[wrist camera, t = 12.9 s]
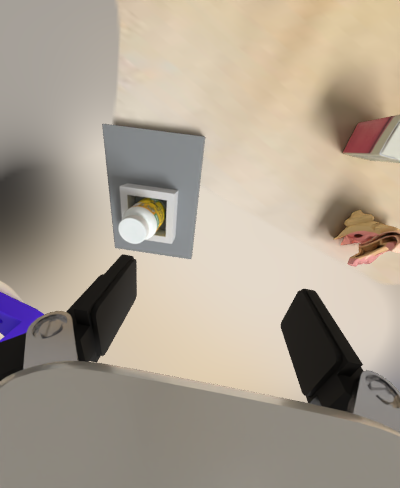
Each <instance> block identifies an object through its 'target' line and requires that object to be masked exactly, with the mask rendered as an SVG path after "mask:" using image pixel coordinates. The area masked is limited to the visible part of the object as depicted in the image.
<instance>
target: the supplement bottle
mask: <svg viewBox="0 0 400 488" xmlns="http://www.w3.org/2000/svg"><path fill="white" fill-rule="evenodd" d="M166 212H167V211H166V207H165V205H164V204H163V203H162V202H161V201H160V200H159V199H154V198H147V197H146V198H143V199H142V200H140V201H139V202H138V203H136V204H135V205H133V206H132V207H130V208H129V209H128V210H127V211H126V212H125V213H124V215H123V217H122V221H121V222H120V223H119V227H118V230H119V233H120V235H121V237H122V238H123V239H124V240H125V241H127V242H129V243H132V244H138V243H141V242H142V241H144V240H146V239H149V238H151V237H152V236H153V235H154V234H155V232H156V231H157V230H158V228H159V227H160V226H161V224H162V223H163V221H164V220H165V218H166Z"/></svg>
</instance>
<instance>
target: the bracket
mask: <svg viewBox="0 0 400 488" xmlns="http://www.w3.org/2000/svg"><path fill="white" fill-rule="evenodd" d="M43 315H44V314H43V313H42V312H40V311H38V310H37V309H36V308H33V307H31V306H29V305H27V304H24V303H22V302H20V301H18V300H16V299H14V298H12V297H10V296H8V295H6V294H3V293H1V292H0V333H1V334H2V335H4V336H5V337H3V338H2V339H1V340H0V342H2V341H5V340H8V339H11V338H13V337H16V336H19V335H21V334H24V333H27V330H28V327H29V326H30V325H31V323H33V322H34V321H35V320H36V319H37V318H39V317H41V316H43Z"/></svg>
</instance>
